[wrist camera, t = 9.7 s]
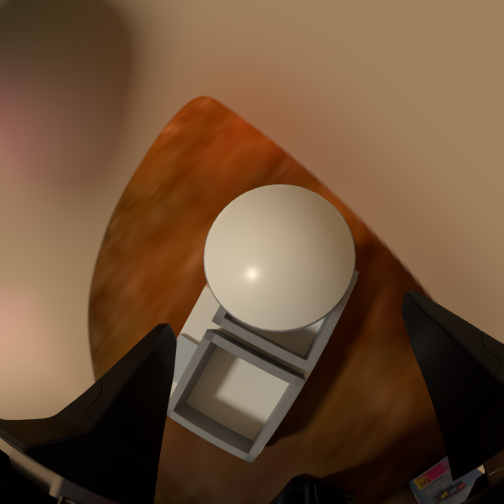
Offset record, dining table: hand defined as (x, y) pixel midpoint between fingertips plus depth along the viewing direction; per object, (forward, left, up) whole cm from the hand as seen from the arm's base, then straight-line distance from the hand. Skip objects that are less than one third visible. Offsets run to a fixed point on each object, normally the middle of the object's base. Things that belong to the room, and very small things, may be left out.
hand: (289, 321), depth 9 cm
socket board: (-3, +2, -11) cm, 11 cm away
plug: (+1, +1, -10) cm, 10 cm away
